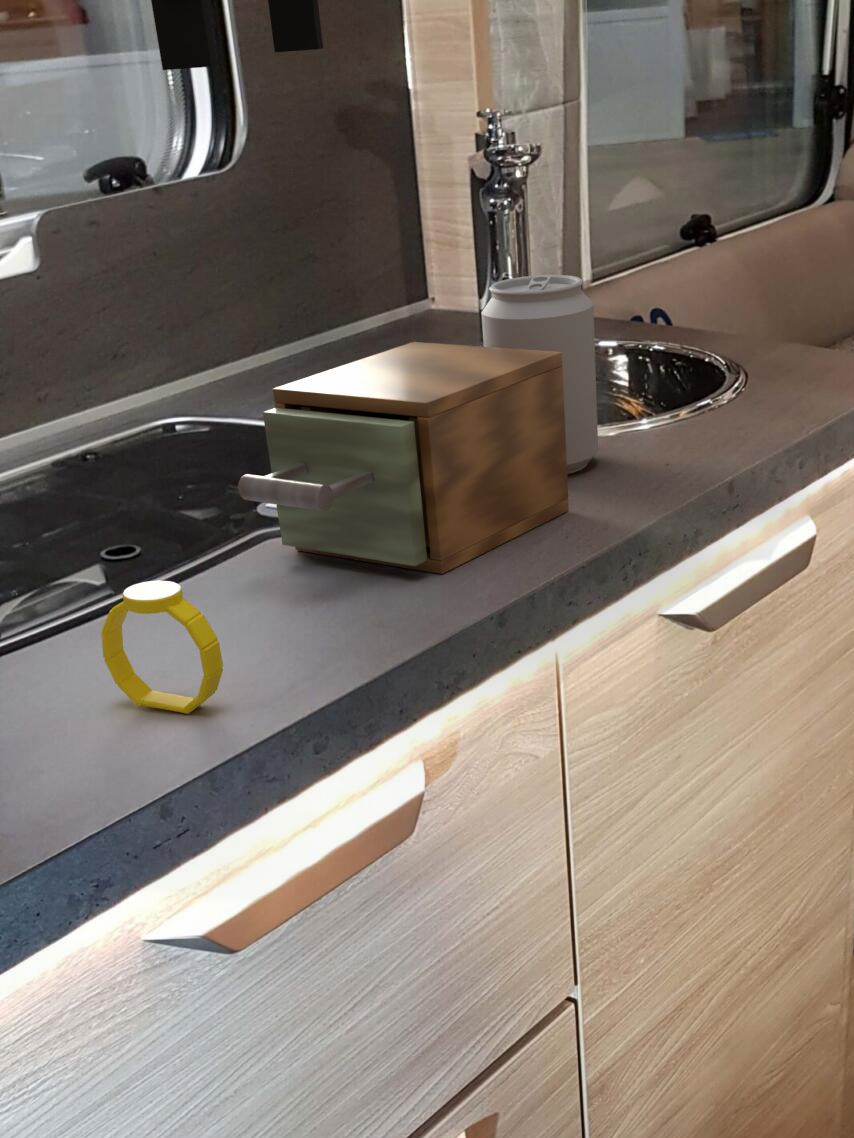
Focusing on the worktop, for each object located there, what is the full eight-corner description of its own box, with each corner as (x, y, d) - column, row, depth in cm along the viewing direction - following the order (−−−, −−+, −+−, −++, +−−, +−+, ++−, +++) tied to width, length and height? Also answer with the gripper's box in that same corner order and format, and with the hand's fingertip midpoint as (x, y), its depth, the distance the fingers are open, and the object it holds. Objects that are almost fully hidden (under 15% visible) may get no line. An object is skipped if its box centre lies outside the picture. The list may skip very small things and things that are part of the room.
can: (478, 480, 107) (464, 291, 100) (510, 451, 113) (498, 271, 106) (583, 481, 105) (575, 289, 98) (609, 452, 111) (604, 268, 104)
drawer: (359, 594, 86) (341, 449, 82) (224, 570, 91) (200, 433, 87) (536, 507, 97) (529, 376, 93) (407, 490, 103) (395, 366, 98)
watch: (105, 712, 76) (79, 594, 73) (136, 691, 79) (111, 576, 75) (209, 723, 74) (187, 602, 71) (238, 701, 77) (217, 583, 73)
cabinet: (442, 574, 91) (426, 402, 85) (295, 550, 97) (271, 388, 91) (569, 510, 99) (562, 351, 94) (427, 492, 105) (413, 341, 100)
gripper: (109, -568, 60) (206, 71, 72) (350, -449, 79) (395, 40, 91) (-55, -534, 62) (66, 81, 74) (219, -426, 81) (279, 48, 93)
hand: (248, 59), depth 83 cm, fingers open, 13 cm apart
